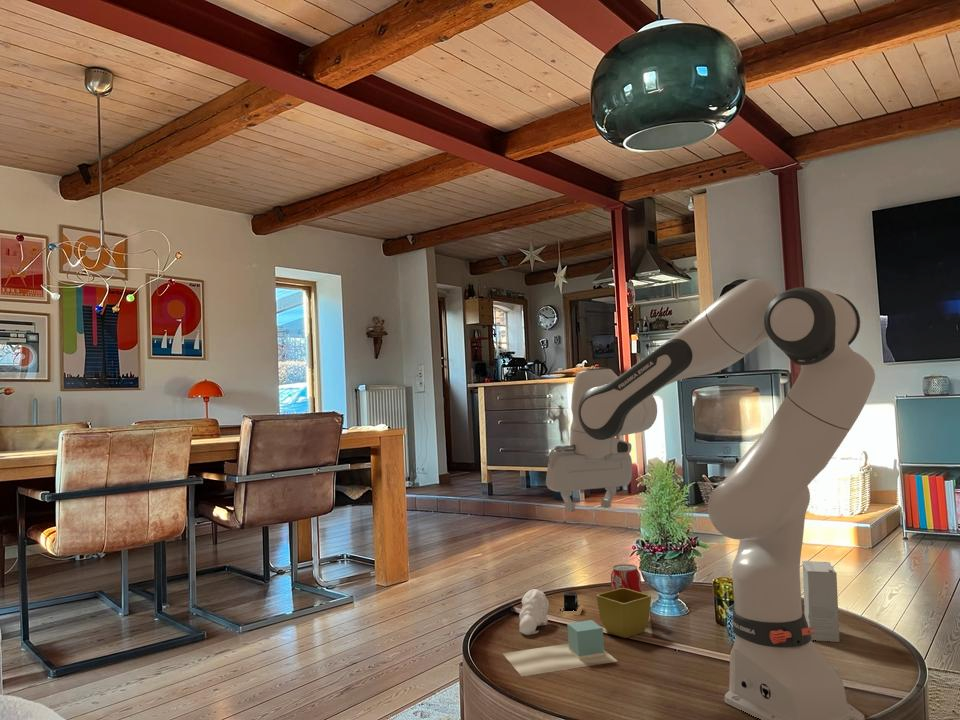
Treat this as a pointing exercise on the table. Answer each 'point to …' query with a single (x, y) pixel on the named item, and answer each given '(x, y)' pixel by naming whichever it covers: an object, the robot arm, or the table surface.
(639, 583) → the soda can
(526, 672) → the birch board
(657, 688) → the table surface
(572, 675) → the table surface
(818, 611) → the skincare box
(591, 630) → the teal block
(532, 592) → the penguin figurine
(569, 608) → the black upright block
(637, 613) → the flower pot
